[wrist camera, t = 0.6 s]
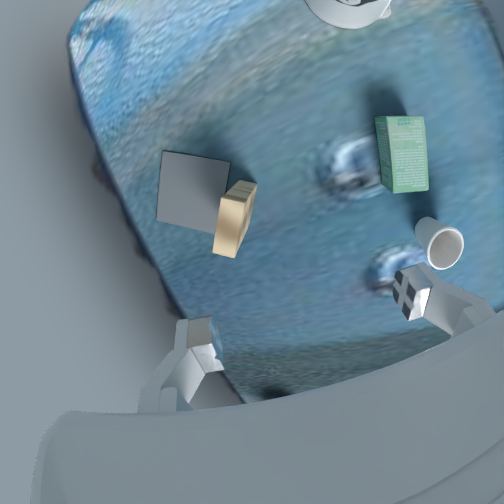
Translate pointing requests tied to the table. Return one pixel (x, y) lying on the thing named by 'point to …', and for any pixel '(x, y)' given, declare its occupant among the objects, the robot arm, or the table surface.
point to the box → (402, 153)
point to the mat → (191, 190)
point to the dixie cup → (439, 242)
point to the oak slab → (234, 218)
